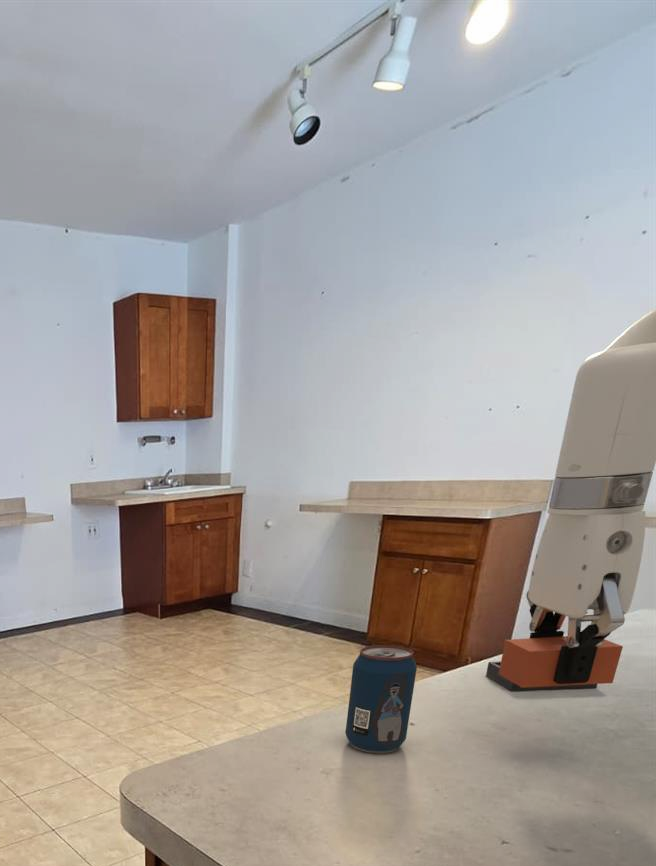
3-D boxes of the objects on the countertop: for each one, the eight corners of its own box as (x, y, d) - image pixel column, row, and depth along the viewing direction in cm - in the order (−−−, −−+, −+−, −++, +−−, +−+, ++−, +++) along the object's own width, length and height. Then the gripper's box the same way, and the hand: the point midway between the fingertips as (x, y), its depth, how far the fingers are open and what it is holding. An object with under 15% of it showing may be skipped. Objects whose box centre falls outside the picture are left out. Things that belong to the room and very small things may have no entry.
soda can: (366, 729, 84) (377, 640, 79) (416, 745, 79) (431, 650, 74) (332, 743, 81) (342, 651, 76) (382, 760, 76) (396, 662, 71)
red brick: (583, 669, 72) (592, 634, 70) (612, 683, 67) (623, 646, 66) (498, 674, 73) (505, 639, 71) (521, 687, 68) (529, 651, 67)
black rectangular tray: (565, 672, 99) (568, 658, 98) (596, 688, 92) (601, 672, 92) (485, 676, 101) (488, 661, 100) (511, 691, 94) (514, 676, 93)
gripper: (709, 496, 54) (647, 698, 62) (584, 489, 69) (546, 651, 77) (613, 503, 55) (563, 702, 63) (510, 495, 70) (480, 655, 78)
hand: (554, 672), depth 70 cm, fingers closed on red brick, 5 cm apart
